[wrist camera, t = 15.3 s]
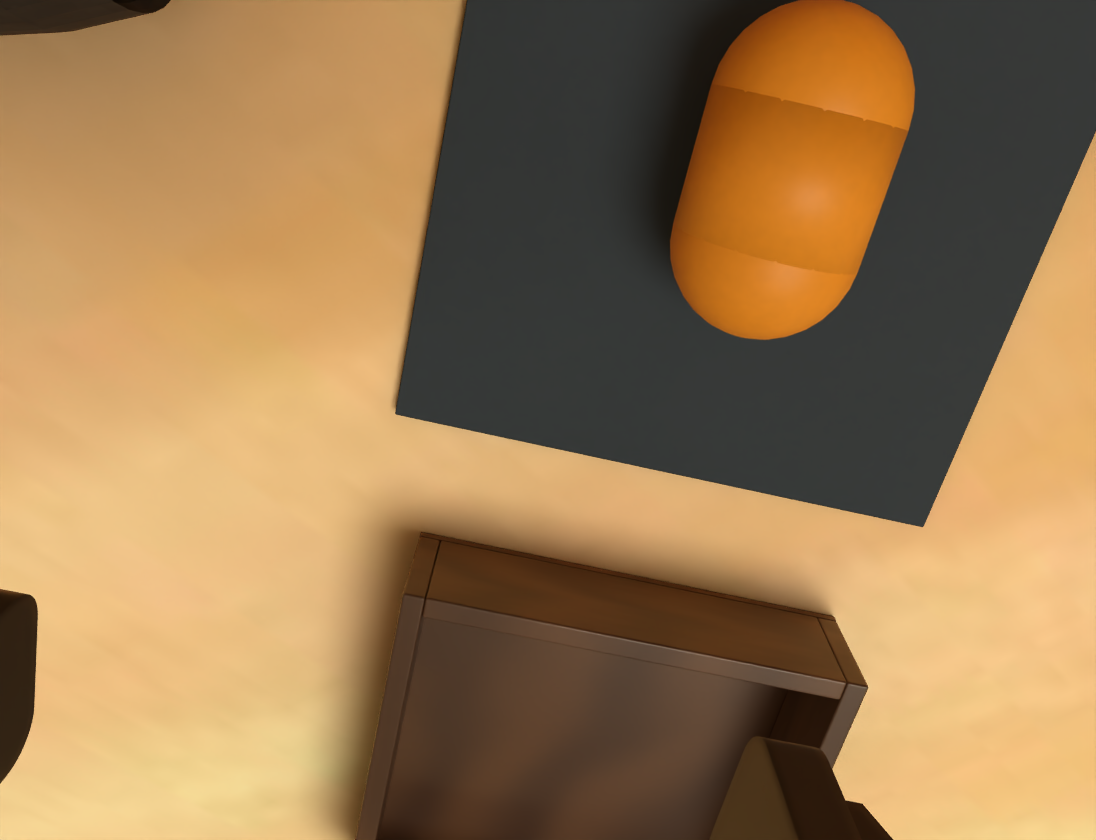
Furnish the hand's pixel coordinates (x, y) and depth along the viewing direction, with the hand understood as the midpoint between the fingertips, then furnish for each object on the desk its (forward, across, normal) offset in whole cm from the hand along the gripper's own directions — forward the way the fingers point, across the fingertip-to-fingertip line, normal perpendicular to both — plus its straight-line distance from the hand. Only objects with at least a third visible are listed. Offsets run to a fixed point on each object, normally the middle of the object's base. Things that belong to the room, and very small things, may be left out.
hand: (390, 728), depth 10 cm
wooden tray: (+22, -8, +18) cm, 29 cm away
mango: (+21, -7, -6) cm, 23 cm away
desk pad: (+22, -7, -6) cm, 24 cm away
